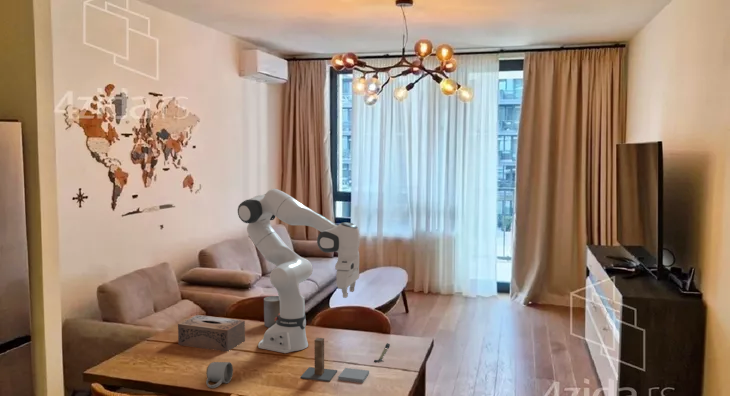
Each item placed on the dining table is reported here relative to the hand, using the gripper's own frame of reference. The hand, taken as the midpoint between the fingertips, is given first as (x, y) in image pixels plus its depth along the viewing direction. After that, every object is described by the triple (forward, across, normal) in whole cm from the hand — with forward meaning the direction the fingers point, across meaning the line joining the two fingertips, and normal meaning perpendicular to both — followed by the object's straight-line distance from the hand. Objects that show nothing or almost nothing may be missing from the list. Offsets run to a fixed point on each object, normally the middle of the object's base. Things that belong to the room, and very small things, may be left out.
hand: (348, 294), depth 238 cm
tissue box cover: (+29, -2, -66) cm, 72 cm away
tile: (+28, +10, +7) cm, 31 cm away
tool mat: (+29, +17, -7) cm, 34 cm away
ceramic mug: (+29, +35, -41) cm, 61 cm away
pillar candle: (+29, -34, -50) cm, 67 cm away
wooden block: (+28, +17, -7) cm, 34 cm away
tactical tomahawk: (+29, -12, +14) cm, 35 cm away
